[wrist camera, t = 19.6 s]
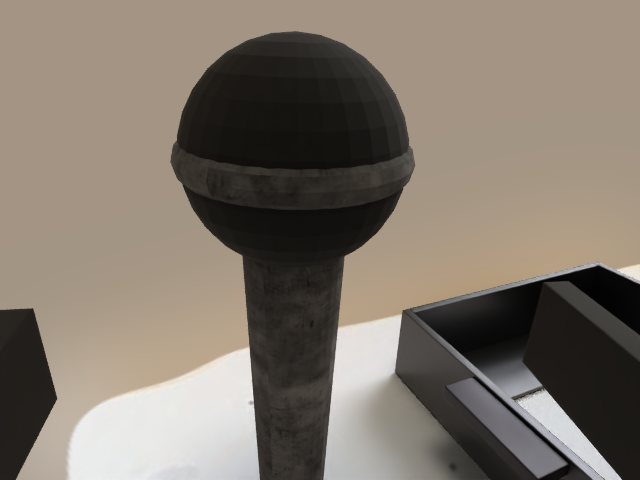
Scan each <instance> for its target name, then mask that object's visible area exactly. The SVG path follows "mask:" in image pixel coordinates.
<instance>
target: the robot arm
mask: <svg viewBox="0 0 640 480" xmlns="http://www.w3.org/2000/svg"><path fill="white" fill-rule="evenodd" d="M522 362H523V363H524V364H525V366H526V367H527V368H528V369H529V370H530V372H531V373H532V374H533V375H534V376H535V377H536V379H537V380H538V381H539V382H540V383H541V384H542V386H543V387H544V388H545V389H546V390H547V392H548V393H549V394H550V395H551V396H552V397H553V399H554V400H555V401H556V402H557V403H558V405H559V406H560V407H561V408H562V409H563V410H564V412H565V413H566V414H567V415H568V416H569V417H570V419H571V420H572V421H573V422H574V423H575V425H576V426H577V427H578V428H579V429H580V430H581V432H582V433H583V434H584V435H585V436H586V437H587V439H588V440H589V441H590V442H591V443H592V445H593V446H594V447H595V448H596V449H597V450H598V452H599V453H600V454H601V455H602V456H603V458H604V459H605V460H606V461H607V462H608V463H609V465H610V466H611V467H612V468H613V469H614V470H615V472H616V473H617V474H618V475H619V476H620V478H621V479H622V480H640V335H638V334H637V333H636V332H635V331H633V330H632V329H631V328H629V327H628V326H627V325H625V324H624V323H623V322H621V321H620V320H619V319H617V318H616V317H615V316H613V315H612V314H611V313H610V312H608V311H607V310H606V309H604V308H603V307H602V306H600V305H599V304H598V303H596V302H595V301H594V300H592V299H591V298H590V297H589V296H587V295H586V294H585V293H583V292H582V291H581V290H579V289H578V288H577V287H575V286H574V285H573V284H571V283H570V282H569V281H562V282H544V283H543V286H542V290H541V294H540V298H539V301H538V305H537V309H536V312H535V316H534V320H533V324H532V327H531V331H530V335H529V339H528V342H527V346H526V350H525V354H524V357H523V361H522ZM56 400H57V396H56V392H55V388H54V385H53V381H52V377H51V373H50V370H49V366H48V362H47V358H46V355H45V351H44V347H43V343H42V340H41V336H40V332H39V328H38V325H37V321H36V317H35V313H34V310H33V308H32V309H13V310H0V480H16V478H17V476H18V474H19V472H20V470H21V468H22V466H23V464H24V462H25V460H26V458H27V456H28V454H29V453H30V450H31V449H32V447H33V445H34V443H35V441H36V439H37V437H38V435H39V433H40V431H41V429H42V427H43V425H44V423H45V421H46V419H47V418H48V415H49V414H50V412H51V410H52V408H53V406H54V404H55V402H56Z"/></svg>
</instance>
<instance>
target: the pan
mask: <svg viewBox="0 0 640 480" xmlns="http://www.w3.org/2000/svg"><path fill="white" fill-rule="evenodd" d="M562 281H569V282H570V283H571V284H573V285H574V286H575V287H577V288H578V289H579V290H581V291H582V292H583V293H585V294H586V295H587V296H589V297H590V298H591V299H592V300H594V301H595V302H596V303H598V304H599V305H600V306H602V307H603V308H604V309H606V310H607V311H608V312H610V313H611V314H612V315H613V316H615V317H616V318H617V319H619V320H620V321H621V322H623V323H624V324H625V325H627V326H628V327H629V328H631V329H632V330H633V331H635V332H636V333H637V334H638V335H640V281H638V280H636V279H634V278H632V277H630V276H627V275H625V274H623V273H621V272H619V271H617V270H614V269H612V268H610V267H608V266H606V265H603V264H601V263H599V262H595V263H591V264H586V265H583V266H578V267H574V268H570V269H567V270H562V271H559V272H554V273H550V274H546V275H542V276H538V277H534V278H531V279H526V280H523V281H519V282H514V283H510V284H506V285H502V286H498V287H494V288H490V289H486V290H482V291H478V292H474V293H471V294H466V295H462V296H459V297H454V298H450V299H446V300H442V301H439V302H434V303H430V304H426V305H422V306H418V307H414V308H410V309H406V310H403V312H402V320H401V328H400V336H399V344H398V352H397V360H396V368H395V373H396V374H397V375H398V376H399V377H400V378H401V379H402V380H403V382H404V383H405V384H406V385H407V386H408V387H409V388H410V389H411V391H412V392H413V393H414V394H415V395H416V396H417V397H418V398H419V399H420V401H421V402H422V403H423V404H424V405H425V406H426V407H427V408H428V410H429V411H430V412H431V413H432V414H433V415H434V416H435V417H436V418H437V420H438V421H439V422H440V423H441V424H442V425H443V426H444V427H445V429H446V430H447V431H448V432H449V433H450V434H451V435H452V436H453V437H454V439H455V440H456V441H457V442H458V443H459V444H460V445H461V446H462V448H463V449H464V450H465V451H466V452H467V453H468V454H469V455H470V456H471V458H472V459H473V460H474V461H475V462H476V463H477V464H478V465H479V467H480V468H481V469H482V470H483V471H484V472H485V473H486V474H487V475H488V477H489V478H490V479H491V480H605V479H604V478H602V477H601V476H600V475H599V474H598V473H597V472H596V471H594V470H593V469H592V468H591V467H590V466H589V465H587V464H586V463H585V462H584V461H583V460H582V459H581V458H579V457H578V456H577V455H576V454H575V453H574V452H573V451H571V450H570V449H569V448H568V447H567V446H566V445H565V444H563V443H562V442H561V441H560V440H559V439H558V438H557V437H555V436H554V435H553V434H552V433H551V432H550V431H549V430H547V429H546V428H545V427H544V426H543V425H542V424H540V423H539V422H538V421H537V420H536V419H535V418H534V417H532V416H531V415H530V414H529V413H528V412H527V411H526V410H524V409H523V408H522V407H521V406H520V405H519V404H518V403H516V402H515V401H514V400H515V399H517V398H520V397H522V396H525V395H528V394H530V393H533V392H535V391H538V390H540V389H543V388H544V387H543V386H542V384H541V383H540V382H539V381H538V380H537V379H536V377H535V376H534V375H533V374H532V373H531V372H530V370H529V369H528V368H527V367H526V366H525V364H524V363H523V362H522V361H523V357H524V354H525V350H526V346H527V342H528V339H529V335H530V331H531V327H532V324H533V320H534V316H535V312H536V309H537V305H538V301H539V298H540V294H541V290H542V286H543V283H544V282H562Z"/></svg>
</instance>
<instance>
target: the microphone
mask: <svg viewBox="0 0 640 480" xmlns="http://www.w3.org/2000/svg"><path fill="white" fill-rule="evenodd" d="M171 164H172V167H173V170H174V172H175V175H176V177H177V178H178V180H179V181H180V182H181V183H182V184H183V187H184V190H185V192H186V194H187V197H188V199H189V202H190V204H191V206H192V208H193V210H194V211H195V213H196V214H197V216H198V217H199V218H200V220H201V221H202V223H203V224H204V226H205V227H206V228H207V229H208V230H209V231H210V232H211V233H212V234H213V235H214V236H215V237H217V238H218V239H219V240H220V241H221V242H222V243H223V244H224V245H225V246H227V247H228V248H230V249H232V250H233V251H235V252H237V253H239V254H241V255H242V256H243V268H244V281H245V294H246V307H247V319H248V332H249V345H250V358H251V371H252V383H253V396H254V409H255V422H256V434H257V447H258V460H259V473H260V480H323V476H324V466H325V455H326V445H327V434H328V424H329V413H330V403H331V392H332V382H333V372H334V361H335V351H336V340H337V330H338V319H339V308H340V298H341V288H342V277H343V266H344V256H346V255H347V254H350V253H352V252H353V251H355V250H356V249H358V248H360V247H361V246H362V245H364V244H365V243H366V242H367V241H368V240H369V239H370V238H372V236H374V235H375V234H376V233H377V232H378V231H379V230H380V229H381V227H382V226H383V225H384V223H385V222H386V220H387V219H388V218H389V216H390V215H391V214H392V212H393V211H394V209H395V207H396V204H397V202H398V200H399V198H400V195H401V193H402V191H403V187H404V186H405V185H406V184H407V183H408V182H409V180H410V178H411V175H412V173H413V170H414V167H415V162H414V156H413V150H412V148H411V147H410V146H409V137H408V132H407V127H406V122H405V117H404V115H403V112H402V109H401V107H400V104H399V102H398V100H397V97H396V95H395V93H394V92H393V90H392V89H391V87H390V86H389V84H388V83H387V81H386V80H385V78H384V77H383V75H382V74H381V73H380V72H379V71H378V70H377V69H376V68H375V67H374V66H373V65H372V64H371V63H370V62H369V61H368V60H367V59H366V58H364V57H363V56H362V55H360V54H359V53H357V52H356V51H354V50H352V49H351V48H349V47H348V46H346V45H345V44H343V43H340V42H338V41H335V40H332V39H330V38H327V37H324V36H322V35H317V34H310V33H303V32H296V31H295V32H281V33H270V34H267V35H264V36H261V37H257V38H254V39H250V40H247V41H245V42H244V43H242V44H240V45H238V46H236V47H235V48H233V49H231V50H229V51H227V52H226V53H225V54H224V55H222V56H221V57H220V58H219V59H218V60H217V61H216V62H215V63H213V64H212V65H211V66H210V67H209V68H208V69H207V70H206V72H205V73H204V74H203V76H202V77H201V78H200V80H199V81H198V83H197V84H196V85H195V87H194V88H193V89H192V91H191V94H190V96H189V98H188V100H187V103H186V105H185V107H184V109H183V111H182V116H181V120H180V125H179V129H178V134H177V141H176V142H175V143H174V145H173V149H172V155H171Z"/></svg>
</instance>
